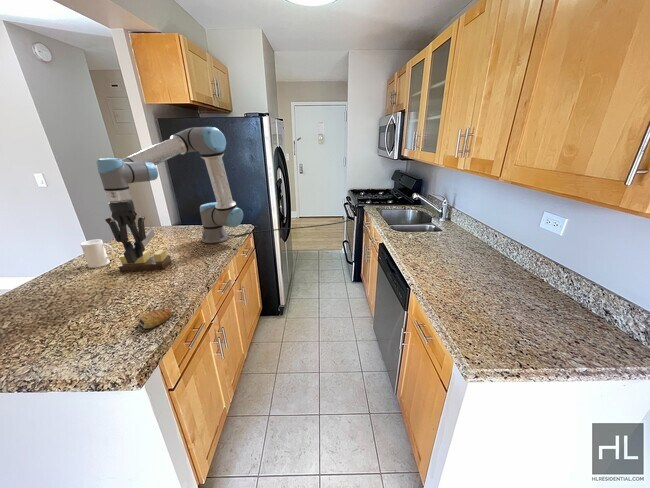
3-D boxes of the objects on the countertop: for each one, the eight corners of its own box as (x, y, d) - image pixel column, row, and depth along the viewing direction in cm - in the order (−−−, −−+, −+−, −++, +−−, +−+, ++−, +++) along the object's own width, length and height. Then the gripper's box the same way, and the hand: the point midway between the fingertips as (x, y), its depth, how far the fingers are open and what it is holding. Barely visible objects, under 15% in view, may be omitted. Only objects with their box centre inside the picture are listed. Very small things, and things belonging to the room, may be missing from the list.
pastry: (166, 310, 94) (164, 301, 93) (176, 317, 91) (174, 308, 89) (137, 324, 87) (134, 315, 86) (146, 332, 84) (143, 322, 82)
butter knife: (157, 234, 123) (153, 225, 121) (134, 263, 104) (129, 253, 101) (151, 235, 123) (148, 225, 120) (127, 263, 104) (122, 253, 101)
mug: (120, 259, 135) (113, 237, 131) (111, 266, 128) (103, 244, 123) (94, 261, 133) (86, 239, 129) (83, 268, 126) (75, 245, 121)
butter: (150, 257, 130) (148, 250, 129) (144, 262, 125) (142, 255, 123) (128, 259, 129) (126, 251, 127) (121, 264, 123) (119, 256, 122)
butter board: (171, 260, 134) (170, 255, 133) (163, 269, 125) (161, 263, 124) (131, 262, 132) (129, 257, 130) (120, 272, 122) (118, 266, 121)
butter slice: (166, 256, 131) (165, 249, 130) (162, 261, 126) (160, 254, 124) (160, 257, 131) (158, 249, 129) (155, 262, 125) (153, 254, 124)
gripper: (91, 203, 95) (110, 261, 103) (137, 202, 97) (152, 259, 105) (104, 199, 102) (121, 254, 110) (147, 198, 104) (160, 252, 112)
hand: (136, 256), depth 108 cm, fingers closed on butter knife, 2 cm apart
